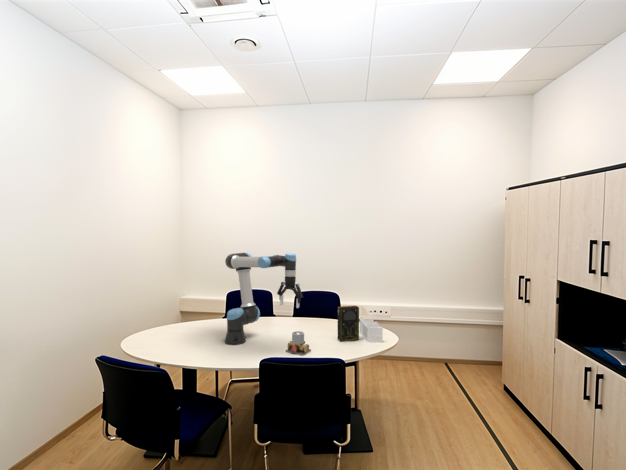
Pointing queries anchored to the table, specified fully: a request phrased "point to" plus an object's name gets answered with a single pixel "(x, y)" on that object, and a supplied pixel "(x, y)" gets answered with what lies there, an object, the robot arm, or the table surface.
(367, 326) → the storage container
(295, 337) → the coupling
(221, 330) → the table surface
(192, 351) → the table surface
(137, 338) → the table surface
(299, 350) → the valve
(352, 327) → the voltmeter
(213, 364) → the table surface
